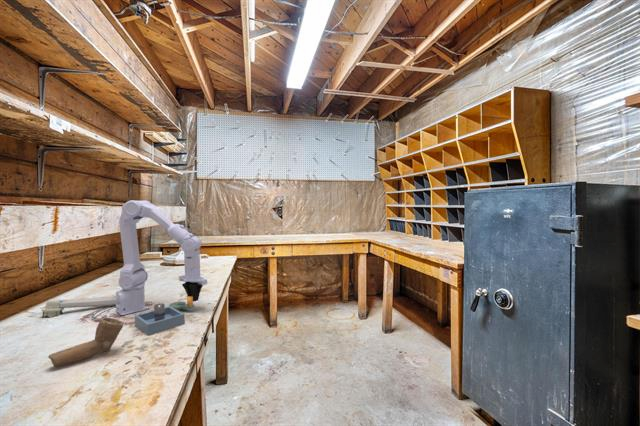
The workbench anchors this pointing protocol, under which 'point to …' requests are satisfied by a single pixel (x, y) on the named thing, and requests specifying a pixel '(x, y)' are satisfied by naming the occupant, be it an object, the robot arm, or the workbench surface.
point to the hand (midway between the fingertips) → (193, 300)
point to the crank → (183, 304)
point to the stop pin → (159, 312)
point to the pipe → (91, 343)
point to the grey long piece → (75, 304)
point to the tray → (151, 327)
